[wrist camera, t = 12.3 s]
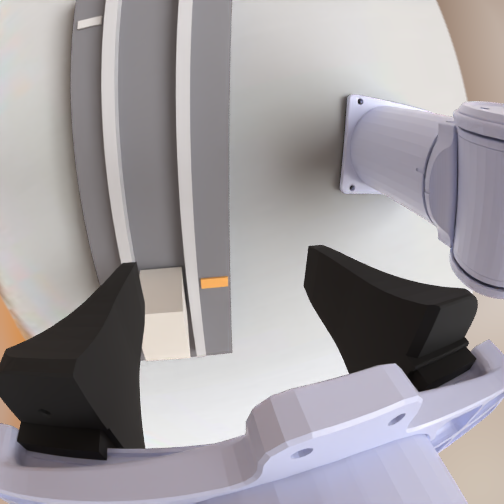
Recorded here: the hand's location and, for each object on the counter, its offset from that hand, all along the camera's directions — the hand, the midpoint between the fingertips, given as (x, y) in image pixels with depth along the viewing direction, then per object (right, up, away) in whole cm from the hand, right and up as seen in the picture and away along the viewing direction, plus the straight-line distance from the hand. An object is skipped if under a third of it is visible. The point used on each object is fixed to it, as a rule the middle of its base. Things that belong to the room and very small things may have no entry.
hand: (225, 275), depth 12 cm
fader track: (-6, +6, +8) cm, 11 cm away
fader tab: (-5, -2, +9) cm, 11 cm away
